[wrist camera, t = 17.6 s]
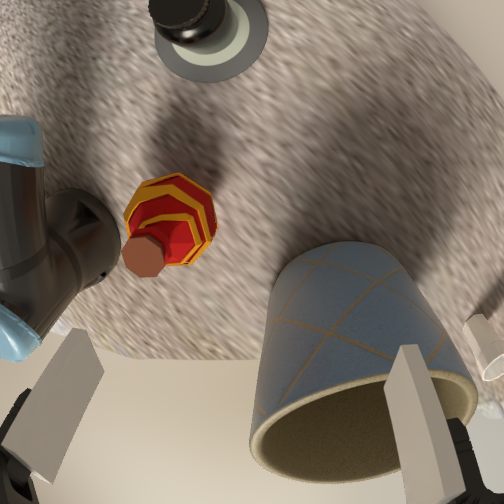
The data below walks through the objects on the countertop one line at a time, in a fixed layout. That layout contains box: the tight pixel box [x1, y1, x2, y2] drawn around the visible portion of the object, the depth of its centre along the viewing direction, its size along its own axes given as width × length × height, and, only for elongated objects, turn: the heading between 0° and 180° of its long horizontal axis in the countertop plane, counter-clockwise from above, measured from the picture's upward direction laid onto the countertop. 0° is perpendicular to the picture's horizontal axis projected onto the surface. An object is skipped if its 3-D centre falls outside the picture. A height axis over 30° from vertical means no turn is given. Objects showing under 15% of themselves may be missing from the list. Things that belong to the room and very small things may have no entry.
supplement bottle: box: [148, 0, 238, 55], centre depth 23 cm, size 7×7×12 cm
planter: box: [249, 241, 478, 484], centre depth 35 cm, size 23×23×24 cm
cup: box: [462, 314, 504, 381], centre depth 41 cm, size 7×7×11 cm
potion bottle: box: [121, 172, 219, 278], centre depth 33 cm, size 10×10×15 cm
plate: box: [155, 0, 268, 82], centre depth 29 cm, size 13×13×1 cm
